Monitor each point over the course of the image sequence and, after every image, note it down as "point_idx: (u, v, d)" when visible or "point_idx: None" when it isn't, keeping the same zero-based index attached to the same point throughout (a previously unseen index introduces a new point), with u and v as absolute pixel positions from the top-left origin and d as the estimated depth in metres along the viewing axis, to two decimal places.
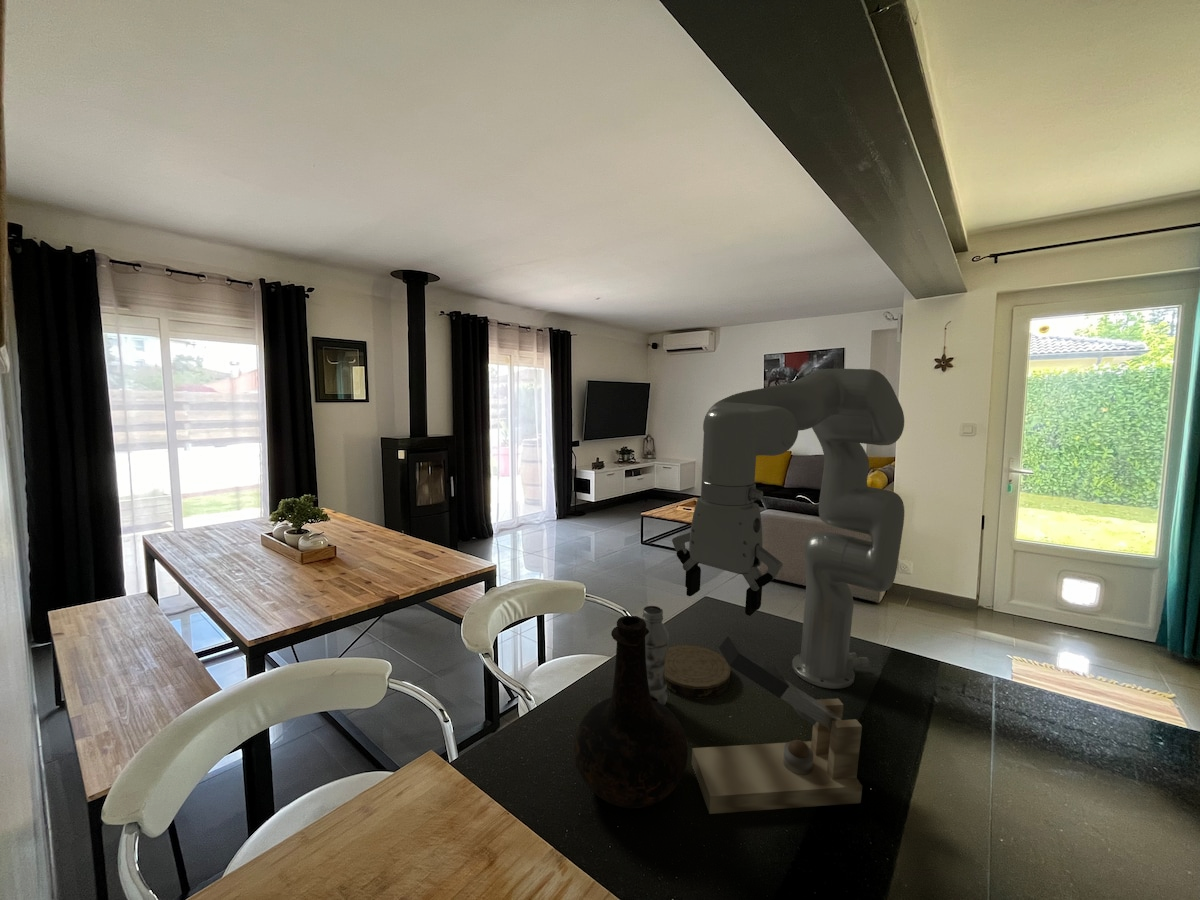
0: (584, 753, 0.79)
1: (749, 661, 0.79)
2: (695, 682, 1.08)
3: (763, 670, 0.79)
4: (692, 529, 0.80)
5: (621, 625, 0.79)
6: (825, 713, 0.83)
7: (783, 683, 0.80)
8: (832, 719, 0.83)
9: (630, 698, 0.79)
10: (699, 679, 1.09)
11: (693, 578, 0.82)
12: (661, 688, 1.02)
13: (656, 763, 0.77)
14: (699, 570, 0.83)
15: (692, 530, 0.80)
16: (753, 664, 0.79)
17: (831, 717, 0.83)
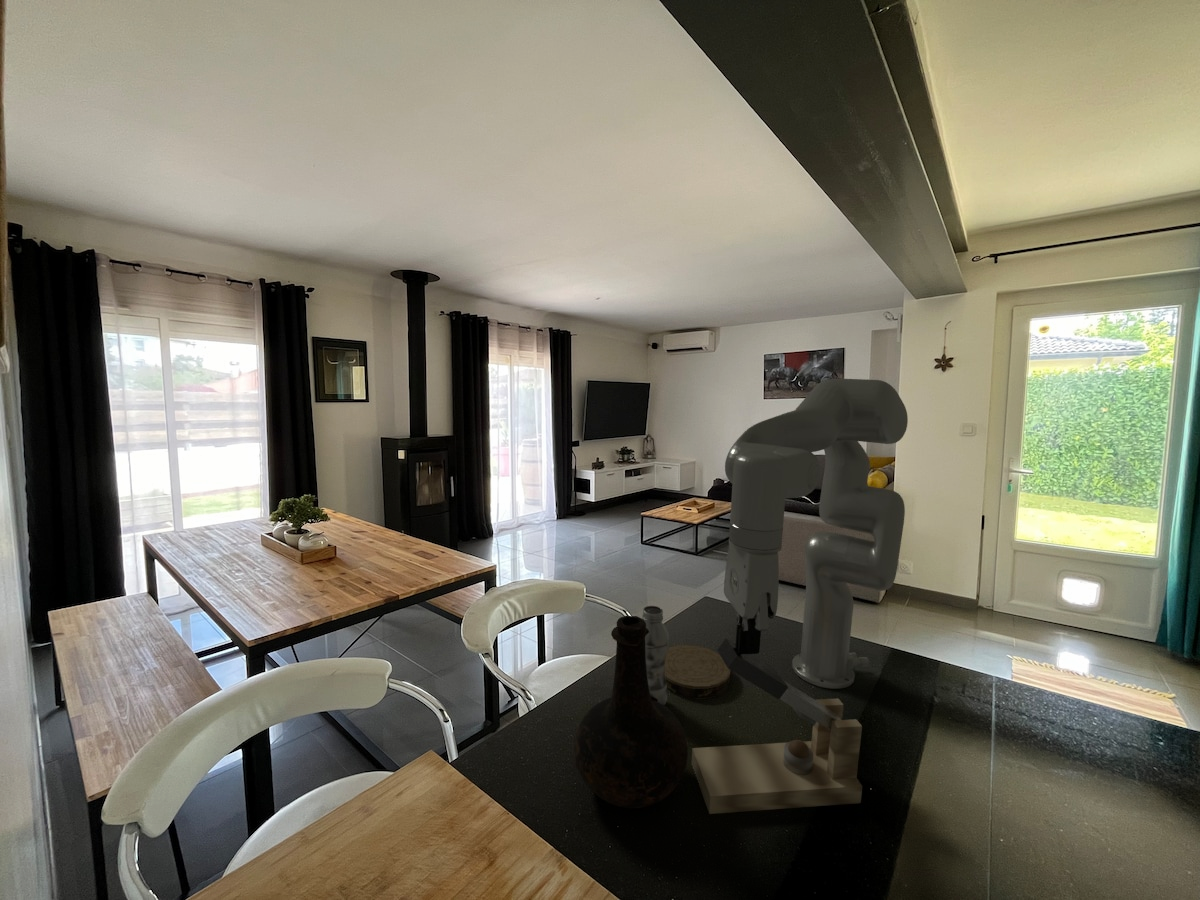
0: (584, 753, 0.79)
1: (747, 663, 0.79)
2: (695, 682, 1.08)
3: (761, 672, 0.79)
4: (778, 585, 0.75)
5: (621, 625, 0.79)
6: (825, 713, 0.83)
7: (782, 684, 0.80)
8: (832, 719, 0.83)
9: (629, 698, 0.79)
10: (699, 679, 1.09)
11: None
12: (661, 688, 1.02)
13: (656, 763, 0.77)
14: None
15: (777, 587, 0.75)
16: (751, 666, 0.79)
17: (831, 717, 0.83)
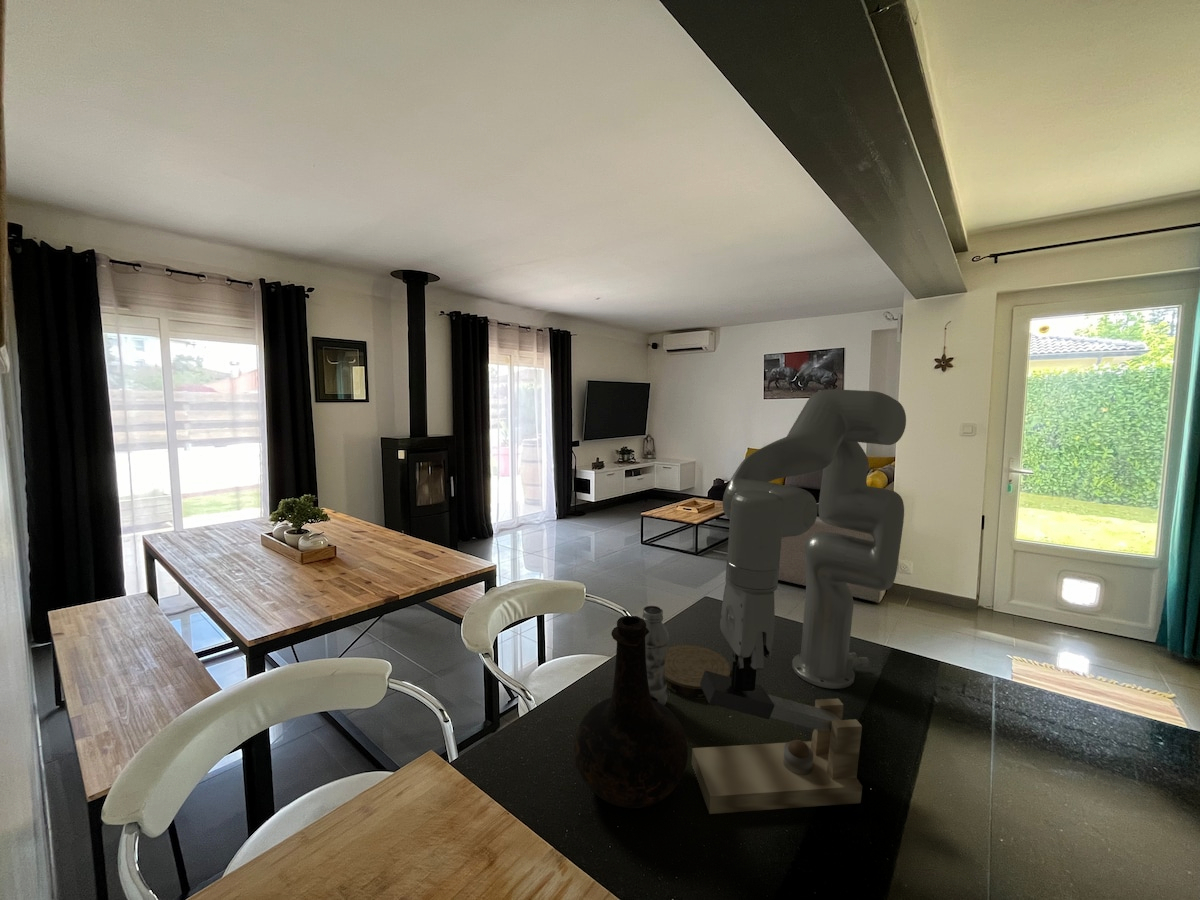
0: (584, 753, 0.79)
1: (727, 694, 0.79)
2: (695, 682, 1.08)
3: (744, 698, 0.80)
4: (773, 625, 0.76)
5: (621, 625, 0.79)
6: (820, 719, 0.83)
7: (767, 704, 0.80)
8: (829, 722, 0.83)
9: (630, 698, 0.79)
10: (699, 679, 1.09)
11: None
12: (661, 688, 1.02)
13: (656, 763, 0.77)
14: None
15: (773, 626, 0.76)
16: (732, 695, 0.79)
17: (827, 721, 0.83)
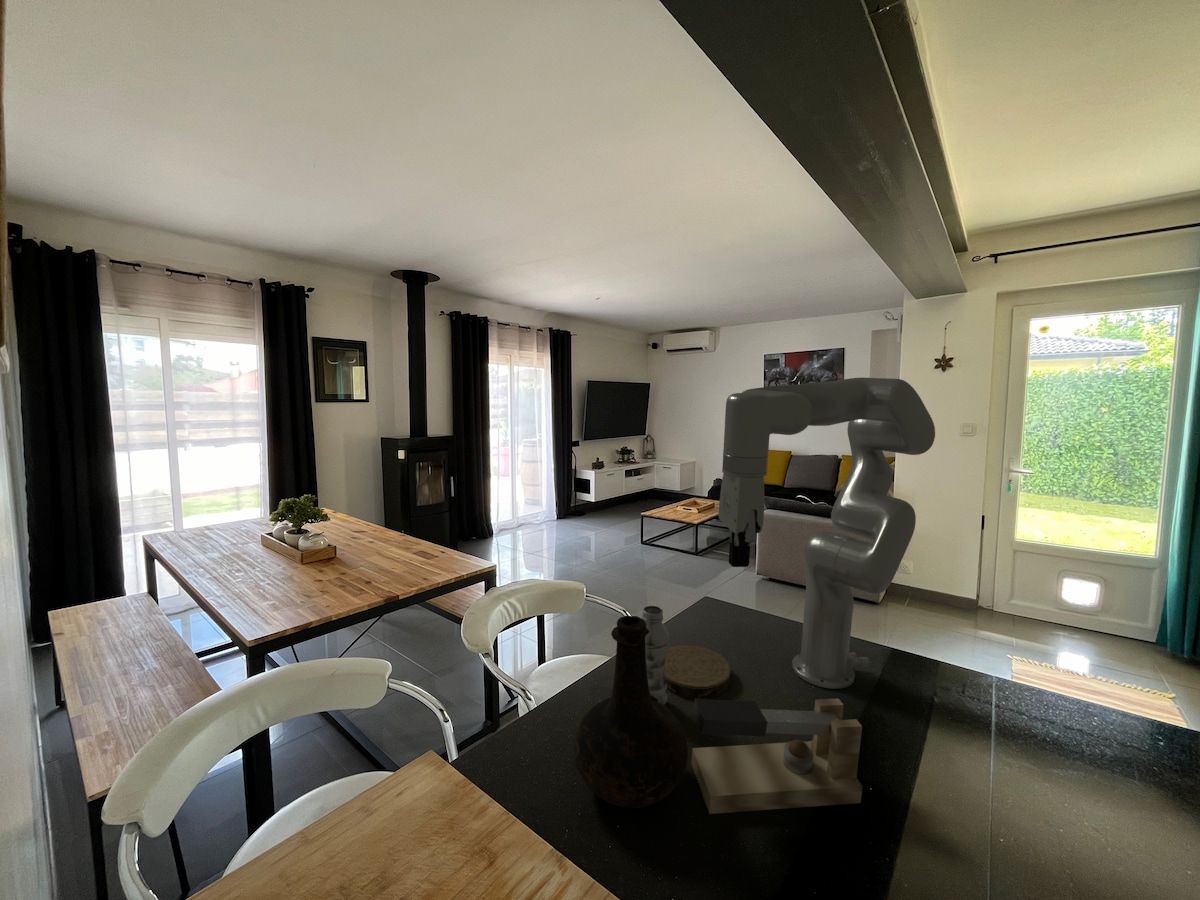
0: (584, 753, 0.79)
1: (717, 721, 0.80)
2: (695, 682, 1.08)
3: (735, 722, 0.80)
4: (763, 504, 0.89)
5: (621, 625, 0.79)
6: (817, 724, 0.83)
7: (760, 722, 0.81)
8: (827, 726, 0.83)
9: (630, 698, 0.79)
10: (699, 679, 1.09)
11: None
12: (661, 688, 1.02)
13: (656, 763, 0.77)
14: None
15: (763, 505, 0.89)
16: (722, 722, 0.80)
17: (825, 724, 0.83)
